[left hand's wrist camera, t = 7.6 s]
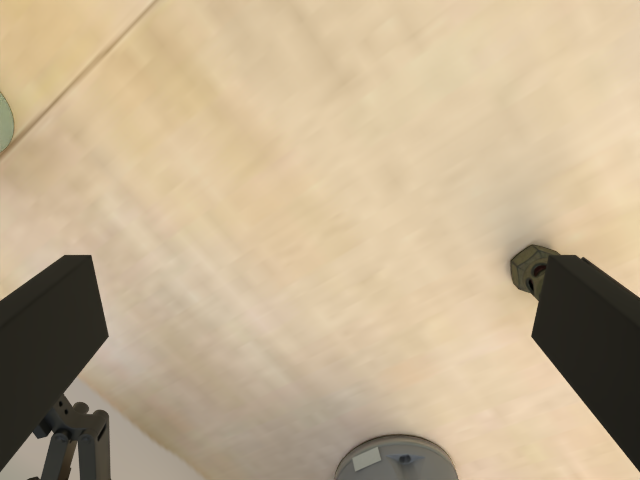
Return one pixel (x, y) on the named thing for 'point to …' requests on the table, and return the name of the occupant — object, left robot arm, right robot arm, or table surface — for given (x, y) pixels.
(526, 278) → the grenade
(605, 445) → the table surface
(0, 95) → the bottle
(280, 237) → the table surface
